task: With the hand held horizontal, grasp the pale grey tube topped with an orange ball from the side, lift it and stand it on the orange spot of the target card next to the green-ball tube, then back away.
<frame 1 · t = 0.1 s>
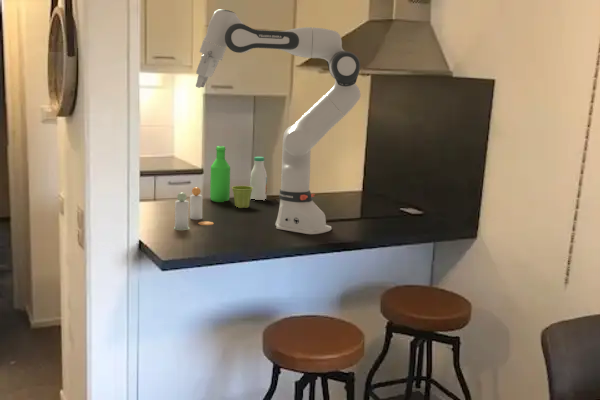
hand: (199, 87, 242), 52 cm above the worktop, tool tilted 20°, fingers open, 8 cm apart
green ball tube: (181, 228, 237), point 1 cm above the worktop, touching target card
milk bottle: (258, 199, 301), on the worktop
target card: (193, 228, 241), on the worktop
orange ball tube: (195, 220, 254), on the worktop
bottle: (219, 201, 295), on the worktop
plant pot: (241, 207, 283), on the worktop
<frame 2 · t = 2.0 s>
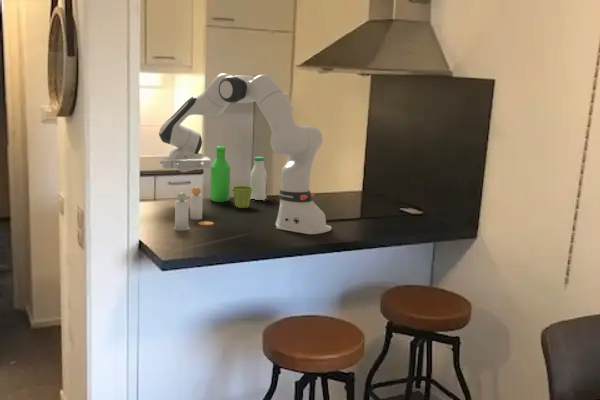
hand: (190, 166, 261), 20 cm above the worktop, tool horizontal, fingers open, 8 cm apart
nothing on the worktop moved.
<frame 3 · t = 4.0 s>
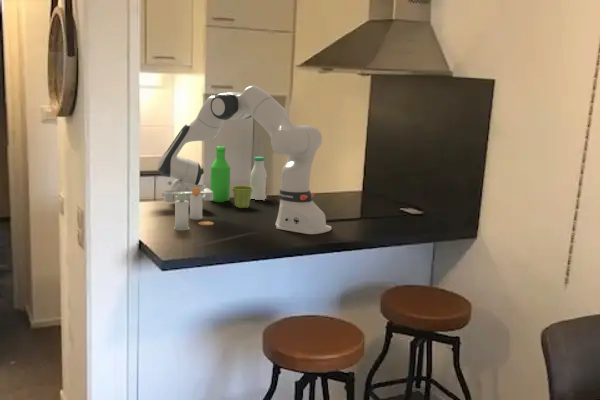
hand: (192, 199, 261), 7 cm above the worktop, tool horizontal, fingers open, 8 cm apart
nothing on the worktop moved.
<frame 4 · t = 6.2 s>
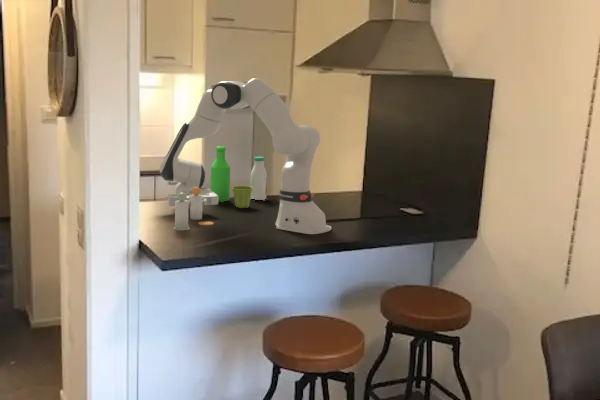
hand: (196, 203, 252), 7 cm above the worktop, tool horizontal, fingers closed on orange ball tube, 5 cm apart
orange ball tube: (195, 220, 254), on the worktop, touching gripper
everything else where it was.
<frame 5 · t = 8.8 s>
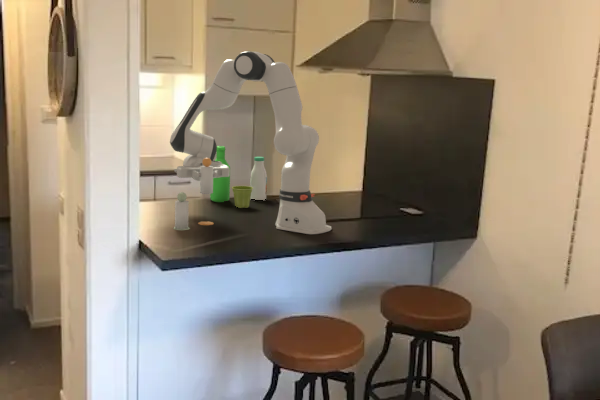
hand: (207, 174, 241), 20 cm above the worktop, tool horizontal, fingers closed on orange ball tube, 5 cm apart
orange ball tube: (206, 192, 244), point 13 cm above the worktop, touching gripper
everything else where it was.
when the fingers open (9 cm above the worktop, at t = 11.2 s): orange ball tube stays where it is, resting on target card.
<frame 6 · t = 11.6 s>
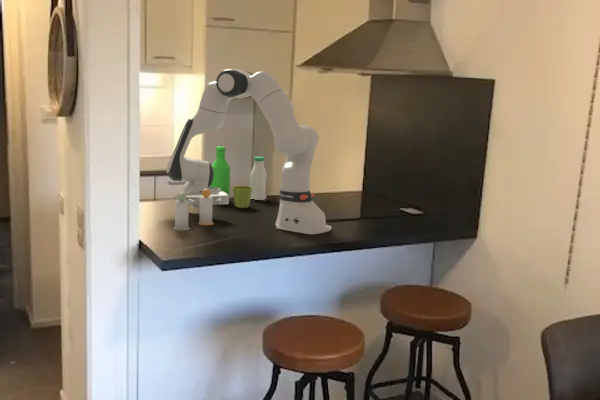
hand: (206, 203, 243), 9 cm above the worktop, tool horizontal, fingers open, 8 cm apart
orange ball tube: (205, 223, 246), point 1 cm above the worktop, touching target card
everything else where it was.
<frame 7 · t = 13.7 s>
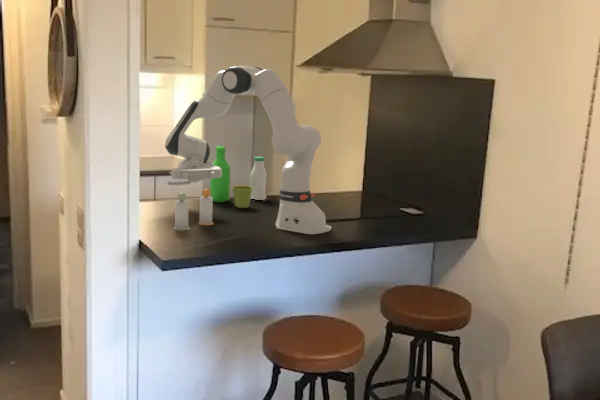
hand: (200, 175, 253), 17 cm above the worktop, tool horizontal, fingers open, 8 cm apart
nothing on the worktop moved.
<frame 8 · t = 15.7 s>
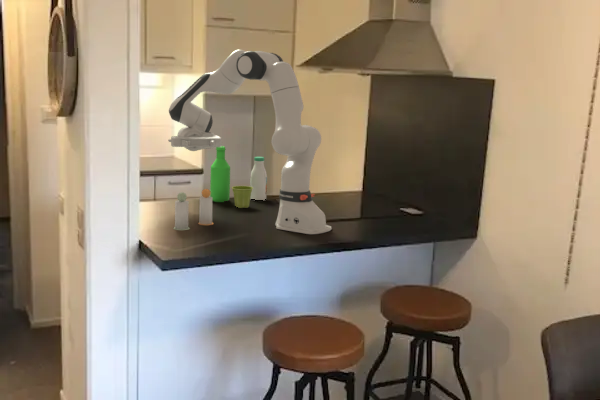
hand: (200, 143, 251), 30 cm above the worktop, tool horizontal, fingers open, 8 cm apart
nothing on the worktop moved.
at the end: orange ball tube 0.0 cm from the target spot, point 1.0 cm above the worktop; orange ball tube tilted 0°; the gripper is holding nothing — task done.
